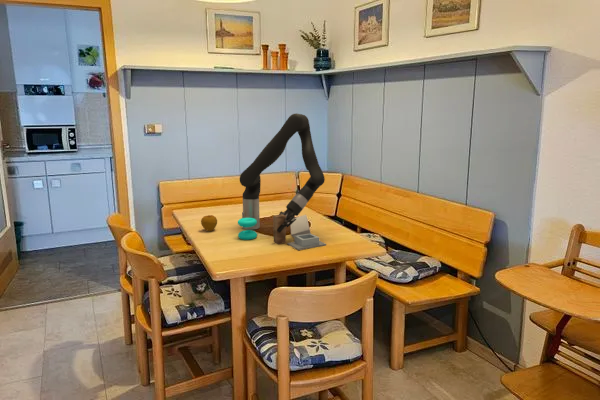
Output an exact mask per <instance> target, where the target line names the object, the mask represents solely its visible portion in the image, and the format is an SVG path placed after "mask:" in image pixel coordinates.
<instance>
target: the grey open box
mask: <svg viewBox="0 0 600 400" xmlns="http://www.w3.org/2000/svg"><path fill="white" fill-rule="evenodd" d="M293 239H294V241H291V242H286V243H287V245H288V246H289V247H291V248H293V249H295V250H297V251H301V250H306V249H307V250H308V249H313V248H314V249H315V248H319V247H320V248H321V247H325V246H327V243H325V242H323V241H321V240H320V236H317V235H315V234H312V233H310V234H304V235H297V236H294V238H293Z"/></svg>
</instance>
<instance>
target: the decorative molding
mask: <svg viewBox="0 0 600 400" xmlns="http://www.w3.org/2000/svg"><path fill="white" fill-rule="evenodd" d="M294 218H295V219H296V220H295V221H294V222H293V223H292V224H291V225H290V236H291V237H292V238H293V239H294V236H297V235H304V234H310V233H311V229H310V224H309V221H308V215H307V214H303V215H300V216H296V217H294ZM311 234H312V233H311Z"/></svg>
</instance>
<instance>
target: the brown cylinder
mask: <svg viewBox="0 0 600 400" xmlns="http://www.w3.org/2000/svg"><path fill="white" fill-rule="evenodd" d="M279 214H280V213H279ZM279 214H275V215H272V219H273V221H272V223H273V224H272V225H273V226H272V230H273V243H274V244H276V245H280V244H286V243H287V227H284V229H283V230H282V231H281V232H280V233H279V232H278V231H277V229H278V228H279V226H280V225H282V222H283V221H284V219H285V217H286V216H285V215H283V214H280V215H279Z"/></svg>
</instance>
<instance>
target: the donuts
mask: <svg viewBox="0 0 600 400" xmlns="http://www.w3.org/2000/svg"><path fill="white" fill-rule="evenodd" d="M256 224H257V220H256V219H254V218H242V217H241V218H239V219H238V220H237V225H238V226H240V227H253V226H255V225H256ZM237 237H238V239H240V240H244V241H246V240H247V241H248V240H249V241H250V240H254V239H256V238H257V237H258V233H257V232H256V230H254V229H253V230H248V229H242V230H241V231H239V232H238V233H237Z"/></svg>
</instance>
